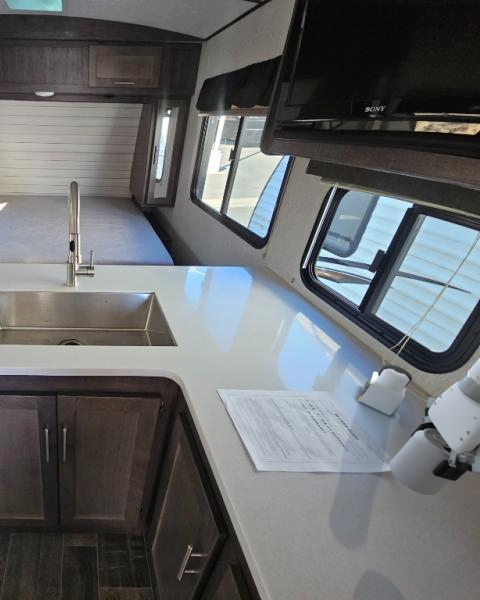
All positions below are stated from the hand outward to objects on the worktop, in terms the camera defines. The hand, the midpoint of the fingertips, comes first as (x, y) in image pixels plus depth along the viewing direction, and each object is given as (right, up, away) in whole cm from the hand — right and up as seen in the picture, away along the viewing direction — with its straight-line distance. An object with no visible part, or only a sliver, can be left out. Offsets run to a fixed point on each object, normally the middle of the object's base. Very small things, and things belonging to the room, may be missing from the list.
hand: (431, 457), depth 62 cm
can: (0, -6, +4) cm, 8 cm away
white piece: (+16, +1, +29) cm, 33 cm away
